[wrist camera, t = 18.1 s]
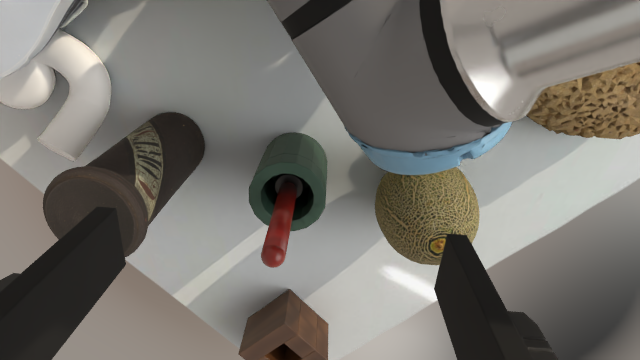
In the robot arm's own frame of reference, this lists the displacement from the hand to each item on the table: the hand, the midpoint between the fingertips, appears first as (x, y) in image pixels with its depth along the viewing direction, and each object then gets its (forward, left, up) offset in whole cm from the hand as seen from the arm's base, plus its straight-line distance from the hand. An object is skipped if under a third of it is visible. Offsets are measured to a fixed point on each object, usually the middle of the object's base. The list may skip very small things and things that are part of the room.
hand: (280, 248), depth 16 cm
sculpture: (-21, -23, -35) cm, 46 cm away
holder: (+25, -28, -35) cm, 51 cm away
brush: (+6, -9, -34) cm, 36 cm away
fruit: (+18, +1, -35) cm, 39 cm away
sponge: (+19, +23, -35) cm, 46 cm away
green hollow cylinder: (+6, -9, -35) cm, 36 cm away
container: (-6, -19, -35) cm, 40 cm away
